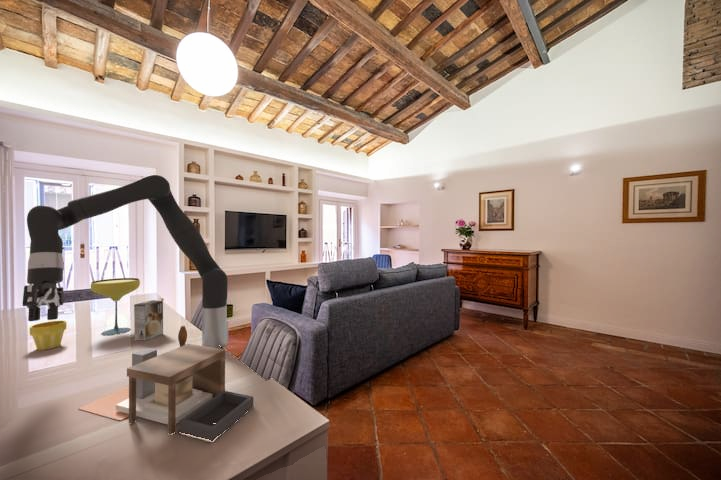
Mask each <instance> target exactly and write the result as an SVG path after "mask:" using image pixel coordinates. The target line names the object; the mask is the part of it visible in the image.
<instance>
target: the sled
mask: <svg viewBox="0 0 721 480" xmlns="http://www.w3.org/2000/svg"><path fill="white" fill-rule="evenodd" d="M156 356H158V349H154V348H148V347H146V348H144V349H141V350H138V351H135V352H132V353H131V366H134V365H136V364H139V363H141V362H144V361H146V360H149V359H151V358H154V357H156ZM212 398H213V394H211V393H207V392H202V391H201V390H196V389H192V396H190V397H188V398H187V399H185V400H183V401H182V402H180V403H179V404H177V405H176V411H175V425H177V424H179V421H180V420H181V419H183V418H184V417H186V416H187V415H188V414H190V413H191V412H193V411H194V410H196V409H197V408H199V407H200V406H202V405H203V404H205V403H206V402H208V401H209V400H211V399H212ZM116 411H119V412H123V413H127V414H129V398H128V399H126V400H124V401H122V402H120V403H118V404H116ZM136 417H138V418H141V419H146V420H149V421H153V422H157V423H161V424H165V425H168V407H166V406H162V405H158V404H155V382H150V381H146V380H141V379H137V378H136Z"/></svg>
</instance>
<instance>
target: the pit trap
mask: <svg viewBox="0 0 721 480" xmlns="http://www.w3.org/2000/svg"><path fill="white" fill-rule="evenodd" d="M254 398H255V397H254V396H251V395H248V394H243V393H238V392H233V391H227V390H225V391H222V392H221V393H219V394H218V395H217V396H215V397H214V398H212V399H211V400H209V401H208V402H206V403H205V404H203V405H202V406H200V407H199V408H197V409H196V410H194V411H193V412H191V413H190V414H188V415H187V416H186V417H184V418H183V419H181V420H180V421H179V422H178V433H179V432H181V433H185V434H190V435H193V436H196V437H201V438H205V439H209V440H211V441H213V440H214V439H215V438H216V437H217V436H219V435H220V434H222V433H223V432H224V431H225V430H227V429H228V428H229V429H231V428H232V427H233V426H234V425H235V424H236V423H237V422H238V421H237V420H239V419H240V418H241V417H242V416H243V415H244V414H245V413H246V412H247V411H249V410H250V409H251V408H252V407H253V408H254ZM253 408H252V409H253ZM252 409H251V410H252ZM251 410H250V411H251ZM250 411H249V412H250ZM244 416H245V415H244ZM244 416H243V417H244ZM243 417H242V418H243ZM242 418H241V419H242ZM241 419H240V420H241ZM236 421H237V422H236ZM235 422H236V423H235ZM213 423H216V424H213ZM234 423H235V424H234ZM233 424H234V425H233ZM232 425H233V426H232ZM231 426H232V427H231ZM230 427H231V428H230ZM229 429H228V430H229ZM228 430H227V431H228Z"/></svg>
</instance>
